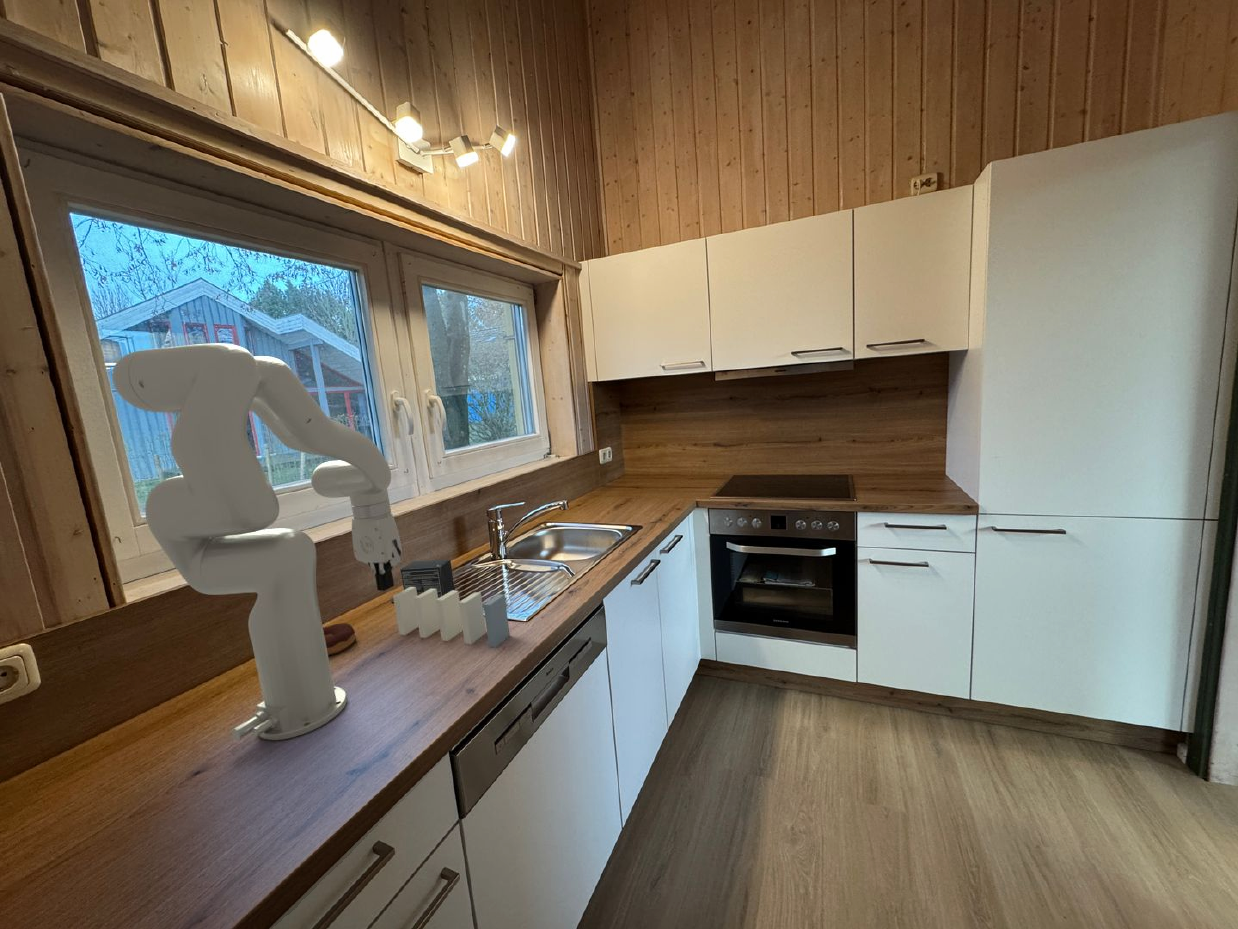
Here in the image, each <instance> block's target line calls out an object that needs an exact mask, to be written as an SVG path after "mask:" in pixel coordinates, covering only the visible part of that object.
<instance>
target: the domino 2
mask: <svg viewBox="0 0 1238 929" xmlns="http://www.w3.org/2000/svg"><path fill="white" fill-rule="evenodd" d="M437 599H438V595H437V589H432V588H431V589H429V590H427V591H425V592H424V593H422V594H420V595H418V596H416V597H414V601H415V608H416V614H417V620H418V627H417V628H418V632H419V637H420V638H421V639H428V637H430V636H431V635H433V634H434V633H436V632H437V631H439V630H440V624H439V617H438V610H437V604H436V600H437Z"/></svg>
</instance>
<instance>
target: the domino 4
mask: <svg viewBox="0 0 1238 929" xmlns="http://www.w3.org/2000/svg"><path fill="white" fill-rule="evenodd" d="M459 607H460V614H461V621H462V628H463V631H462V633H463V640H464V644H466V645H472V644H474V643H475V642H477V641H478V640H479V639H480V638H481V637H483V636H484V635H485V634H487V628H486V621H485V614H484V606H483V600H482V593H481V592H478V591H477V592H476V591H475V592H473V593H471V594H470V595H468V596H466V597H465V598H463V599H461V600H460V602H459Z"/></svg>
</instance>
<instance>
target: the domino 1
mask: <svg viewBox="0 0 1238 929" xmlns="http://www.w3.org/2000/svg"><path fill="white" fill-rule="evenodd" d="M416 596H417V591H416V587H409V588H407V589H405V590H404V589H403V590H401V591H399V592H398V593H396V594H393V596H392V597H393V603H394V604H393V605H394V610H395V617H396V623H397V628H398V634H399V635H401V636H406V635H408V634H409V633H411V632H413V631H414V630H416V629H417V628H419V627H418V620H417V614H416V608H415V601H414V597H416Z"/></svg>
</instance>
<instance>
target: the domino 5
mask: <svg viewBox="0 0 1238 929" xmlns="http://www.w3.org/2000/svg"><path fill="white" fill-rule="evenodd" d="M506 602H507V601H506V597H505V594H498V593H497V594H496V595H494V596H493V597H492V598H490V599H489V600H488V601H486V602H485V603H482V605H483V612H484V620H485V627H486V634H487V641H488V647H489V648H494V647H495V649H496V648H497V647H498V646H500V645H501V644H502V643H503V642H504V641H505V640H506V638H507V639H508V638H509V637H510V636H511V634H510V626H509V619H508V612H507V603H506ZM509 635H510V636H509ZM508 636H509V637H508ZM504 639H505V640H504ZM503 640H504V641H503ZM501 642H502V643H501ZM500 643H501V644H500ZM499 644H500V645H499Z"/></svg>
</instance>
